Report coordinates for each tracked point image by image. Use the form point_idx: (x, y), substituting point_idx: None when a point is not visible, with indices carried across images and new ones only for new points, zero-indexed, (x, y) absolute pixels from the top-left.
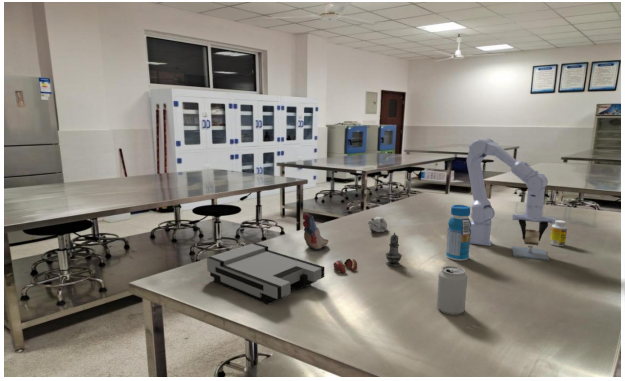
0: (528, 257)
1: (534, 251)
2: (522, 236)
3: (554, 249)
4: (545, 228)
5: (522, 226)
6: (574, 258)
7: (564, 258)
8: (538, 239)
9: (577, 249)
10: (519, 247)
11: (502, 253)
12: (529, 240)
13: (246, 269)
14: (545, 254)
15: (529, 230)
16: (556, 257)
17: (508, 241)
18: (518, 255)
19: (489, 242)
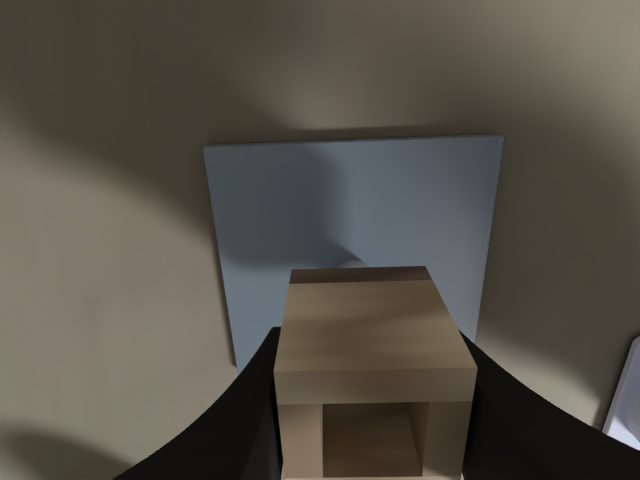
0: (374, 140)
1: None
2: None
3: (183, 428)
4: (162, 453)
5: (589, 443)
6: (42, 294)
7: (104, 264)
8: (288, 306)
9: (58, 474)
10: None
11: (581, 183)
12: (388, 290)
13: None
14: (235, 270)
15: (399, 465)
16: (159, 264)
17: None
18: (462, 139)
19: (634, 389)
